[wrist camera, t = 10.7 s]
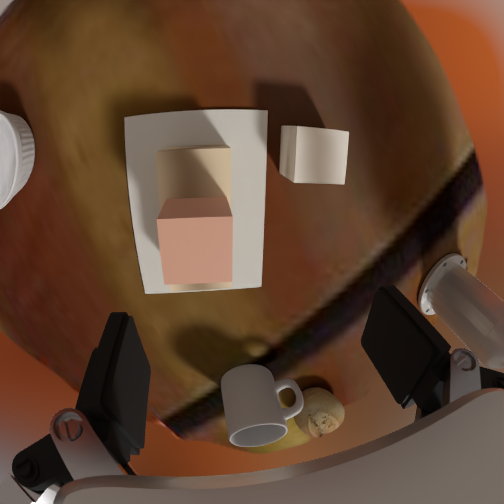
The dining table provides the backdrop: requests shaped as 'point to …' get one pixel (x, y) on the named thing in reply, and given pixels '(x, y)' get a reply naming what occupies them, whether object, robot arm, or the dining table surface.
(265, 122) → the felt mat
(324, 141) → the birch cube
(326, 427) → the bread roll
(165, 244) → the terracotta cube
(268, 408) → the mug
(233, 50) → the dining table surface
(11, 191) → the ramekin
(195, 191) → the maple block
